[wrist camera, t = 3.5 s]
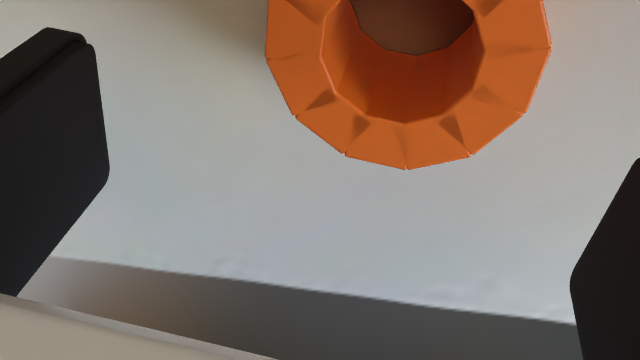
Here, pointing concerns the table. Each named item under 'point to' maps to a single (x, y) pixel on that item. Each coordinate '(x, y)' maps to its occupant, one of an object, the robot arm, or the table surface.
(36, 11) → the table surface
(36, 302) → the robot arm
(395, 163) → the ring
